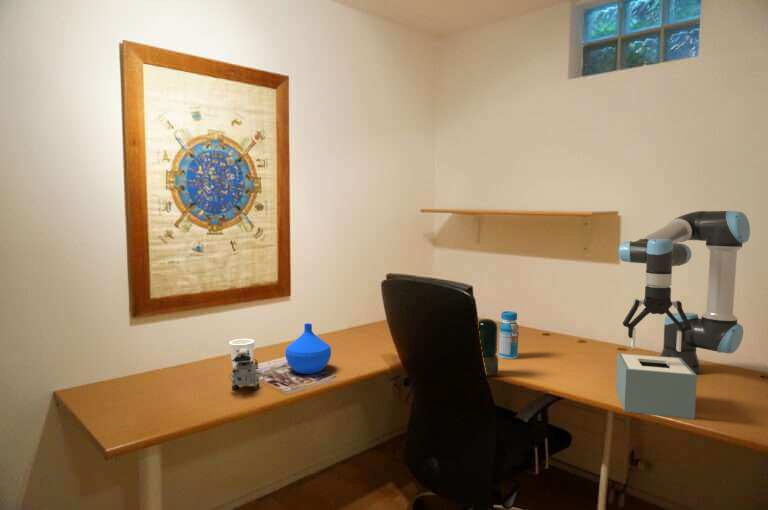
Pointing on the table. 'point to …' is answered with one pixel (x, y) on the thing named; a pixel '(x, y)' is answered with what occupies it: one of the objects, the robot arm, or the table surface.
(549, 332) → the table surface
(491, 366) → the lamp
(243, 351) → the figurine
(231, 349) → the foam cup
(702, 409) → the table surface
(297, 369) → the vase
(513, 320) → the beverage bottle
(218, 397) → the table surface
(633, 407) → the box
